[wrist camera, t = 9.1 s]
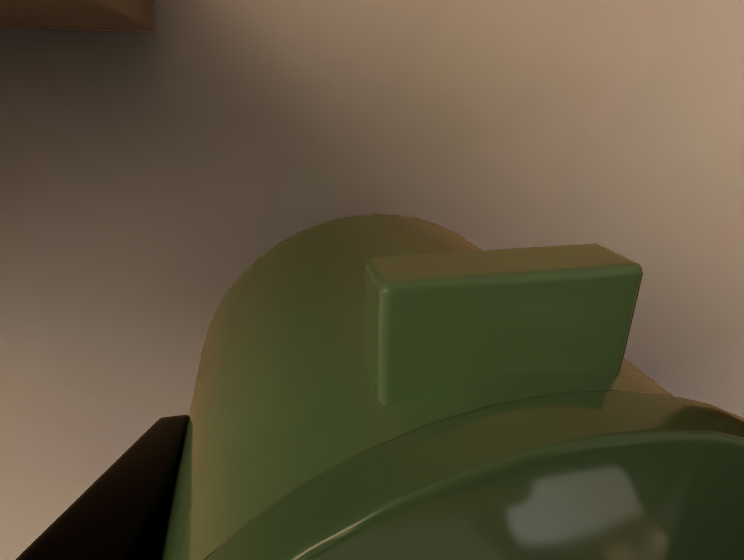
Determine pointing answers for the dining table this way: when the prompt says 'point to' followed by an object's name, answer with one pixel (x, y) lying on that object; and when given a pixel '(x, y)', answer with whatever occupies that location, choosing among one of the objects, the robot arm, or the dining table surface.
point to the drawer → (78, 14)
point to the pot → (443, 411)
